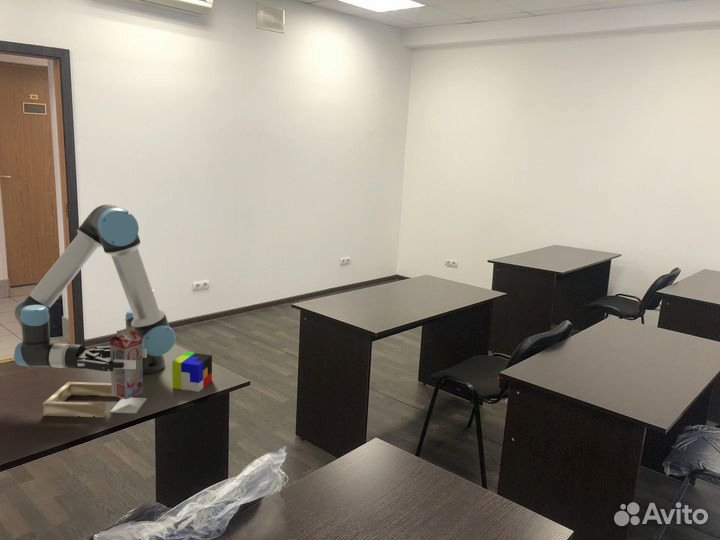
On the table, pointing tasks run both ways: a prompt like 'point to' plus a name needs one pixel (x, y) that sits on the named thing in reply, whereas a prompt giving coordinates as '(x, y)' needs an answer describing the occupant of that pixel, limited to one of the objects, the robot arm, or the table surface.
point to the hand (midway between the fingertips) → (140, 358)
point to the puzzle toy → (192, 371)
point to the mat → (128, 405)
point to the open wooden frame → (82, 409)
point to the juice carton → (127, 348)
